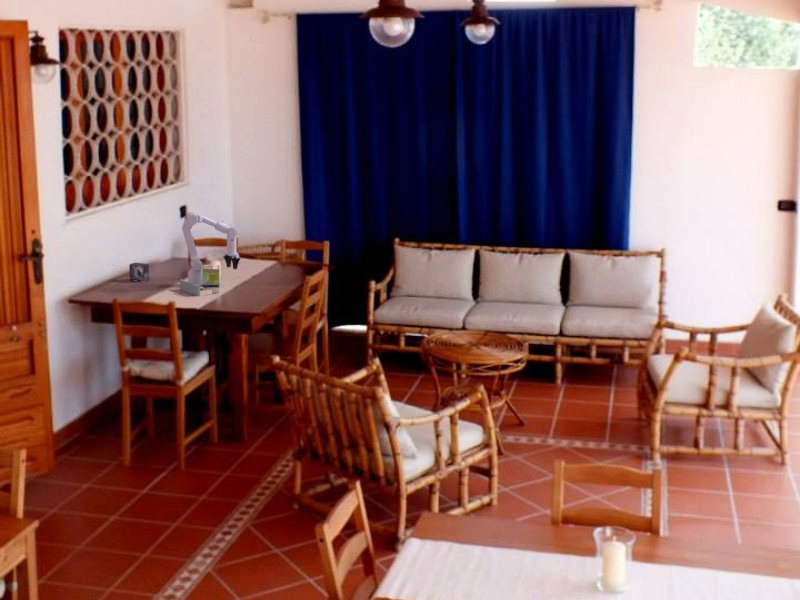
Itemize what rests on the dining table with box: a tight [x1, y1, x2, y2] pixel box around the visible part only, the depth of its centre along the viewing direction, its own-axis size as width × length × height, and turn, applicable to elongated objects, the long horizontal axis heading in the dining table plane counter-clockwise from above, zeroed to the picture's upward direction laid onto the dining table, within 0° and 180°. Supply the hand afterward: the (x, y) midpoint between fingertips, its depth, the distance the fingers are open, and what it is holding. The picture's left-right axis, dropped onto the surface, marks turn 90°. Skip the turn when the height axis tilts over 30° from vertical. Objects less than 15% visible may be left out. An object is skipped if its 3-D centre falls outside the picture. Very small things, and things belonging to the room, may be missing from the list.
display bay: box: [179, 278, 213, 297], centre depth 691 cm, size 22×9×6 cm, turn 38°
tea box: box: [202, 264, 221, 294], centre depth 693 cm, size 15×10×15 cm
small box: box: [128, 262, 150, 282], centre depth 720 cm, size 11×6×10 cm, turn 68°
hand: (231, 268), depth 715 cm, fingers open, 7 cm apart
